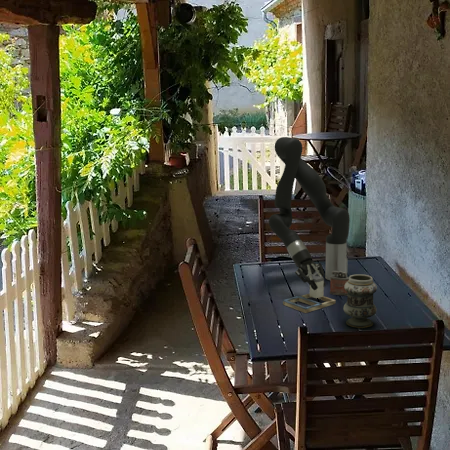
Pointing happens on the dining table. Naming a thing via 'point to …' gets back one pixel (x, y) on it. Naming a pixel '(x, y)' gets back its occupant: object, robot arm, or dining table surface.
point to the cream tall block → (320, 284)
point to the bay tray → (313, 304)
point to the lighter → (338, 283)
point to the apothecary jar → (360, 300)
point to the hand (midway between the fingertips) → (320, 287)
